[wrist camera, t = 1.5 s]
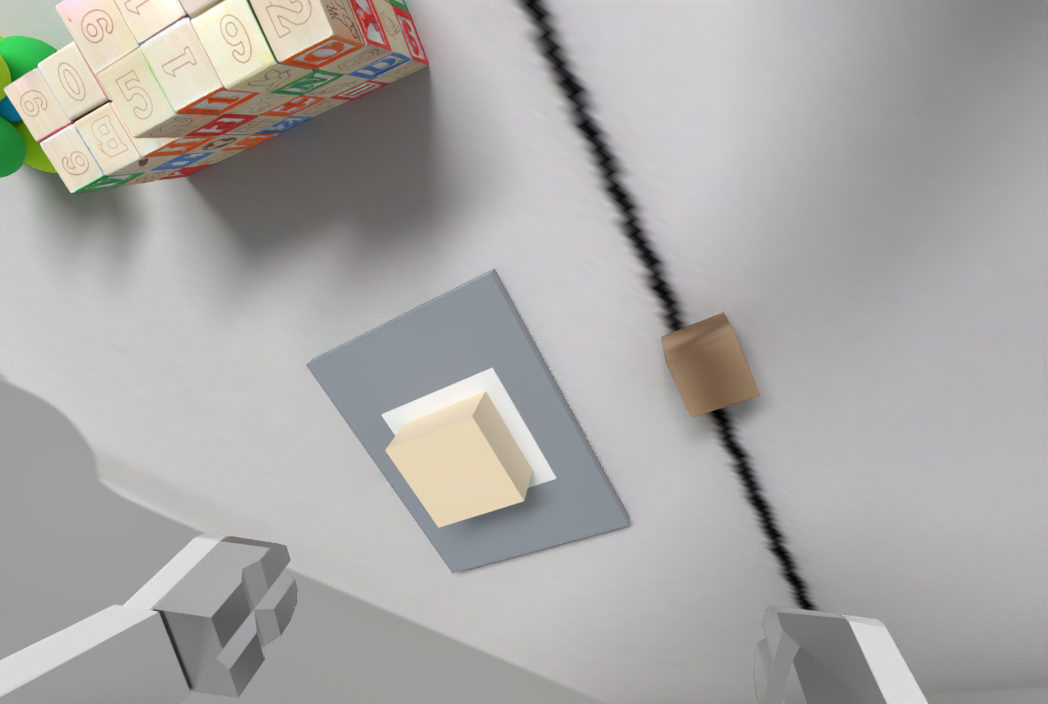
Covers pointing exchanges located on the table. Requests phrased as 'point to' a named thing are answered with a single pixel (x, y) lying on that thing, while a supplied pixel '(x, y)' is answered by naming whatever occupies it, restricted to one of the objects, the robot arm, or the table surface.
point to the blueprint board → (446, 361)
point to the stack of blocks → (201, 79)
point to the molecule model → (3, 132)
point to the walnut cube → (708, 366)
